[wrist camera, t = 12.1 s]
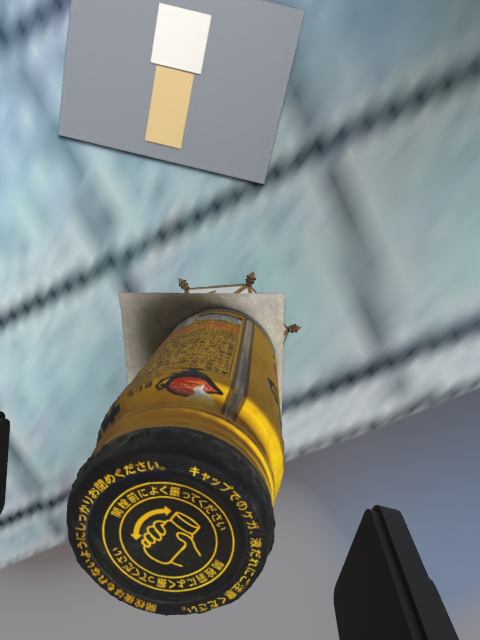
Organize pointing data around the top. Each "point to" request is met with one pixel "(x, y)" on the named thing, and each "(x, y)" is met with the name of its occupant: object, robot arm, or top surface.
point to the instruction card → (180, 79)
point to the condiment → (186, 454)
